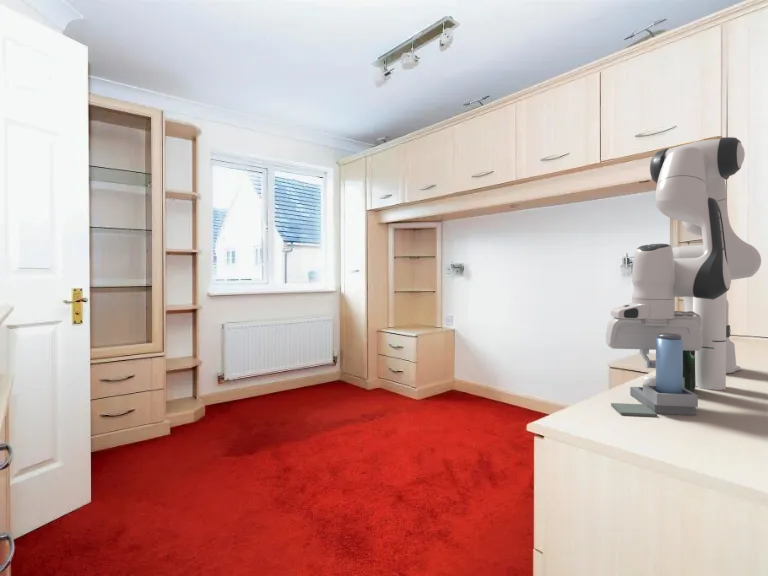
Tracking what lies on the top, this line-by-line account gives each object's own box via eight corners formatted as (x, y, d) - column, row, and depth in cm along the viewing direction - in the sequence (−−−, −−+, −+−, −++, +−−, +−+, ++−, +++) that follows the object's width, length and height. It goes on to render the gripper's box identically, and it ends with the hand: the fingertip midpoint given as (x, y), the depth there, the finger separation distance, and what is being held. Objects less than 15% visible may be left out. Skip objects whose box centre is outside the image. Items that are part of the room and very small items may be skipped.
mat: (611, 405, 101) (611, 402, 101) (644, 406, 100) (644, 404, 100) (621, 415, 94) (621, 412, 94) (656, 416, 93) (656, 413, 93)
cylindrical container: (731, 390, 113) (732, 293, 112) (700, 389, 114) (701, 293, 113) (716, 383, 120) (717, 292, 119) (687, 382, 121) (687, 292, 120)
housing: (630, 394, 110) (630, 376, 110) (665, 395, 108) (665, 377, 108) (656, 414, 94) (656, 393, 94) (698, 416, 93) (698, 395, 93)
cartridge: (652, 397, 100) (652, 333, 100) (676, 398, 99) (676, 333, 99) (661, 403, 96) (661, 336, 95) (686, 404, 95) (687, 336, 94)
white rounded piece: (640, 387, 109) (640, 375, 109) (658, 387, 108) (658, 375, 108) (646, 391, 105) (646, 379, 105) (665, 392, 104) (665, 379, 104)
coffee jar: (663, 384, 120) (663, 316, 120) (698, 389, 114) (698, 318, 114) (653, 390, 113) (653, 319, 113) (689, 396, 108) (689, 321, 107)
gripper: (694, 310, 107) (693, 366, 107) (604, 309, 111) (603, 364, 111) (708, 312, 100) (707, 372, 101) (611, 311, 104) (611, 369, 105)
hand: (652, 367), depth 106 cm, fingers closed
